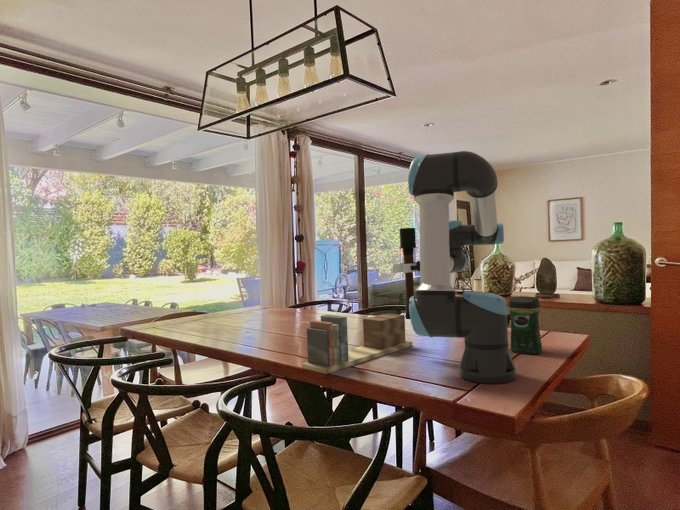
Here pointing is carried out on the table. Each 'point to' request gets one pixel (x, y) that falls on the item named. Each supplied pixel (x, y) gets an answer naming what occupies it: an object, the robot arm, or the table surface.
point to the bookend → (384, 331)
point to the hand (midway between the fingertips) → (398, 268)
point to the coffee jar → (525, 325)
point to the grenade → (408, 261)
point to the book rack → (337, 346)
